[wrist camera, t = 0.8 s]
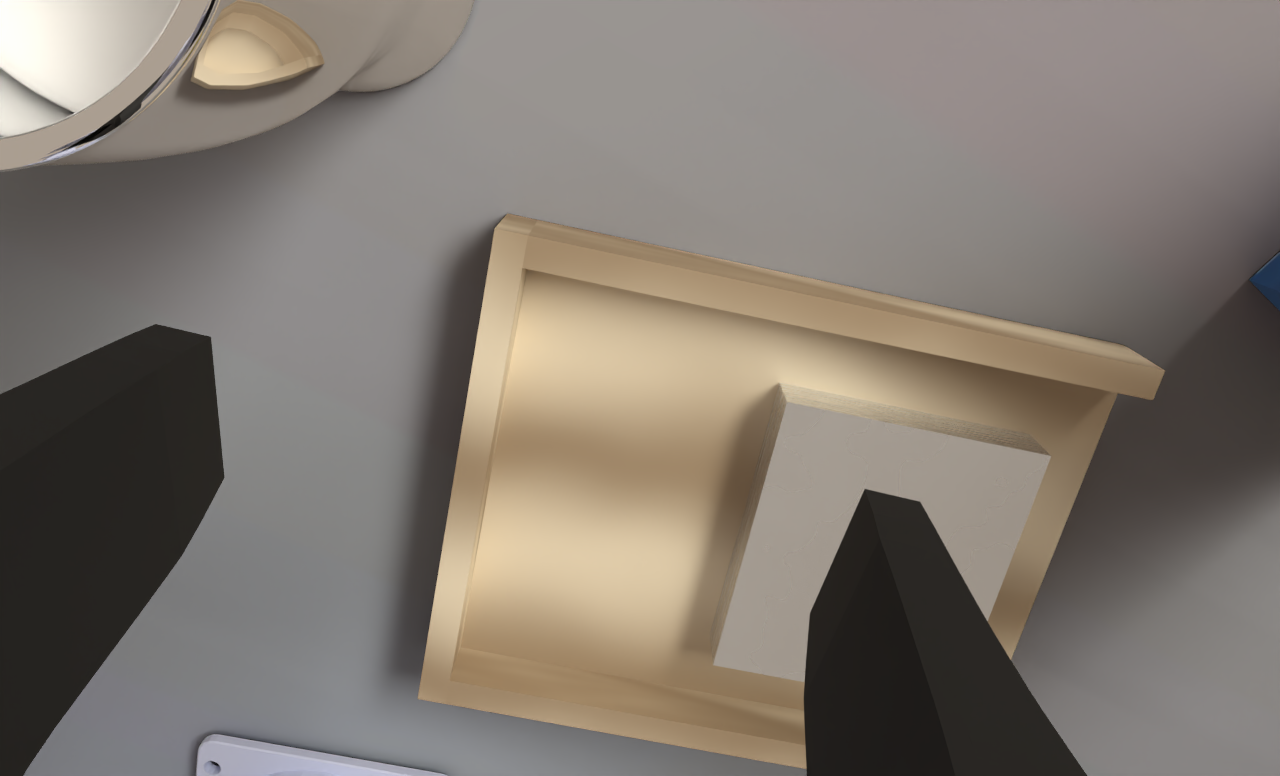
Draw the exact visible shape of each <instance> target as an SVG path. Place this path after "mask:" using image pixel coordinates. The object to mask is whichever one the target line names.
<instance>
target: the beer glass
mask: <svg viewBox="0 0 1280 776" xmlns="http://www.w3.org/2000/svg"><path fill="white" fill-rule="evenodd" d="M473 4H474V0H0V172H7V171H14V170H19V169H25V168H30V167H34V166H47V165H79V164H95V163H109V162H124V161H138V160H146V159H153V158H159V157H166V156H172V155H179V154H185V153H192V152H198V151H203V150H208V149H212V148H216V147H219V146H223V145H226V144H230V143H233V142H236V141H239V140H242V139H246V138H249V137H252V136H255V135H258V134H261V133H264V132H267V131H270V130H272V129H275V128H277V127H280V126H282V125H284V124H286V123H288V122H290V121H292V120H294V119H295V118H297V117H299V116H301V115H302V114H304V113H305V112H307V111H308V110H310V109H312V108H313V107H315V106H316V105H318V104H320V103H321V102H323V101H324V100H326V99H327V98H329V97H330V96H332V95H333V94H335V93H336V92H337V91H339V90H341V91H350V92H373V91H381V90H386V89H390V88H394V87H397V86H400V85H403V84H405V83H408V82H410V81H412V80H414V79H416V78H418V77H419V76H421V75H423V74H424V73H426V72H427V71H429V70H430V69H431V68H432V67H434V66H435V65H436V64H437V63H438V62H439V61H440V60H441V59H442V58H443V57H444V56H445V55H446V54H447V53H448V52H449V51H450V49H451V48H452V47H453V45H454V44H455V43H456V41H457V40H458V38H459V37H460V35H461V33H462V31H463V29H464V28H465V25H466V23H467V21H468V19H469V16H470V13H471V11H472V7H473Z"/></svg>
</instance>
